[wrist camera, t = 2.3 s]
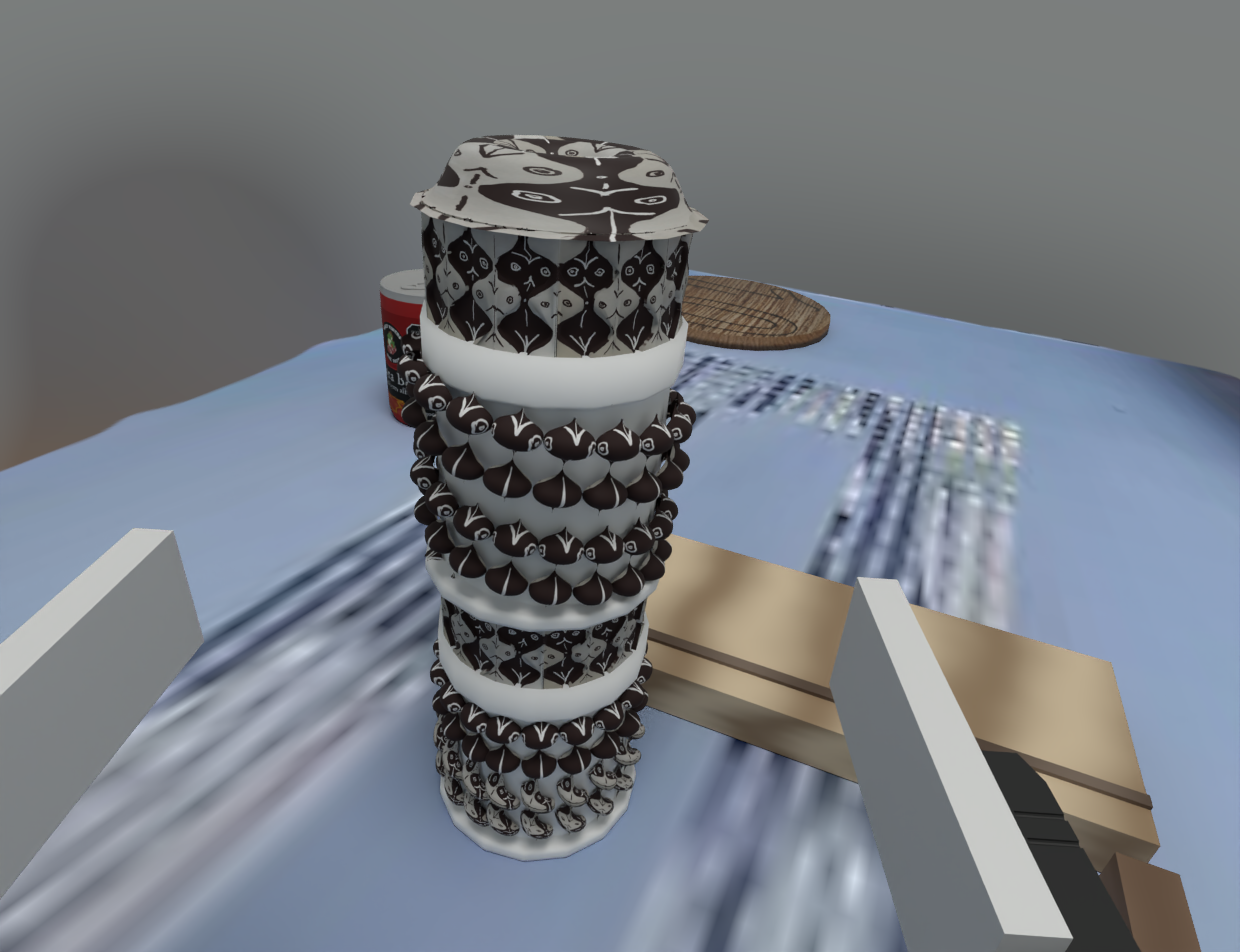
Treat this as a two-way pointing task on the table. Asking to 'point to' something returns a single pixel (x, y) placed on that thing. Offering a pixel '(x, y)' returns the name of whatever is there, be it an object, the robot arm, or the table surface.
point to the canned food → (400, 328)
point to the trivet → (750, 315)
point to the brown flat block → (1150, 905)
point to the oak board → (806, 712)
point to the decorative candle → (546, 472)
